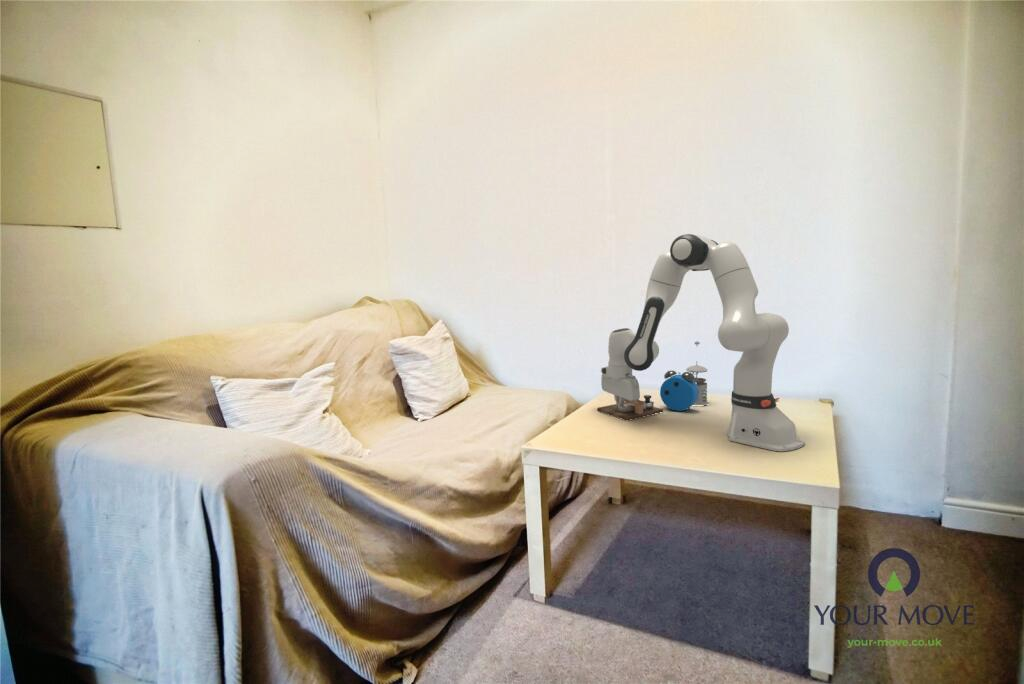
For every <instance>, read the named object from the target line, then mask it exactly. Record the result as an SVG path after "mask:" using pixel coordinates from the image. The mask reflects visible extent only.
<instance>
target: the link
mask: <svg viewBox="0 0 1024 684" xmlns="http://www.w3.org/2000/svg"><path fill="white" fill-rule="evenodd" d="M643 398H644V400H643V401H644V405H643V409H652V408H654V407H655V406H654V401H651V399H652V395H650V394H649V395H648V394H645V395H643ZM618 411H621V412H628V411H635V405H633V404H623V405H618Z"/></svg>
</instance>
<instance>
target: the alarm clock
mask: <svg viewBox="0 0 1024 684" xmlns="http://www.w3.org/2000/svg"><path fill="white" fill-rule="evenodd" d="M663 377H664V381H663V383H662V385H661V386H660V391H659V394H660V399H661V400H662V402H663V404H664V405H665V406H666V407H667V408H668V409H670V410H671V411H672V410H673V411H675V410H676V411H675V412H681V411H682V412H683V411H686V410H687V409H690V410H691V407H693V406H692V405H693V404H695V402H696V401H697V399H698V396H699V390H698V387H697V384H696V382H694V380H695V377H696V376H695V375H694V374H693V372H689V371H685V372H683V373H681V372H677V371H675V370H667V372H665V374H664V376H663Z"/></svg>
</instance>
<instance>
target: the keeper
mask: <svg viewBox="0 0 1024 684" xmlns="http://www.w3.org/2000/svg"><path fill="white" fill-rule="evenodd" d="M644 401H645V400H642V399H641V400H640V399H639V400H638V401H629V400H625V402H626V403H630V404H633V405H635V413H637V414H642V413H643V405H644Z"/></svg>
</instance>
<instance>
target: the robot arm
mask: <svg viewBox="0 0 1024 684" xmlns="http://www.w3.org/2000/svg"><path fill="white" fill-rule="evenodd" d="M689 271H691V272H702V271H710V273H711V275H712V277H713V280H714V283H715V287H716V289H717V292H718V295H719V297H720V301H721V304H722V321H721V324H720V325H719V327H718V330H717V337H718V342H719V343H720V345H721V346H722V348H724V349H725V350H728V351H734V352H740V353H742V354H741V356H740V359H739V360H738V361H737V363H736V364H735V366H734V367H733V380H732V381H733V384H732V391H731V399H730V400H731V401H730V402H731V406H732V407H731V414H730V415H731V416H730V420H729V424H728V429H727V431H726V434H727V436H728V437H729V441H731V442H735V443H738V444H741V445H742V444H743V445H748V446H750V447H751V446H753V447H757V448H761V449H765V450H769V451H774V452H788V451H794V450H798V449H799V448H802V447H804V445H805V444H806V443H805V439H803V438H801V437H798V435H797V429H796V425H795V423H794V421H793V420H791V419H790V418H789V417H788V415H786V414H785V413H784V412H782V410H780V409H779V408H778V406H777V403H778V402H779V400H780V397H776V398H775V396H774V394H773V393H772V384H773V370H774V366H775V363H776V358H777V356H778V353H779V350H780V348H781V346H782V344H783V343H784V341H786V339H787V338H788V335H789V331H790V328H789V324H788V321H787V320H786V319H785V318H784V317H783V316H781V315H778V314H775V313H770V312H762V313H757V311H756V305H755V301H756V298H757V296H758V295H759V289H758V286H757V283H756V281H755V278H754V276H753V273H752V270H751V268H750V266H749V263H748V261H747V259H746V257H745V255H744V253H743V252H742V250H741V248H740V247H739V246H738V245H737V244H736V243H734V242H731V241H730V242H729V241H726V242H725V241H724V242H722V243H718V242H717V241H716V240H713V239H709V238H707V237H705V236H701V235H696V234H692V233H685V234H681V235H679V236H677V237H676V238H675V239H674V240H673V241H672V243H671V244H670V248H669V250H666V251H664V252H661V254H660V255H659V256H658V258H657V260H656V262H655V264H654V266H653V268H652V271H651V273H650V276H649V280H648V284H647V289H646V293H645V301H644V306H643V311H642V315H641V318H640V320H639V325H638V328H637V330H636V332H635V331H633V330H632V329H631V328H628V327H627V328H626V327H625V328H618V329H615V330H612V332H610V333H609V337H608V348H607V349H608V350H607V351H608V352H607V353H608V357H609V358H608V359H609V360H608V362H607V363H608V365H607V366H603V367H601V368H600V373H601V377H600V378H601V380H600V381H601V389H602V391H603V392H606V393H609V394H611V395H613V397H614V401H615V404H616V406H617V407H618V405H623V404H624V402H625V400H629V401H638V400H640V398H641V392H640V384H639V383H640V382H639V381H638V379H637V378H636V376H635V375H633V371H638V372H640V371H642V372H643V371H646V370H647V369H649V368H650V367H651V365H652V364H653V363H654V361H655V360H656V359H657V358H658V356H659V353H660V348H659V345H658V343H657V342H656V341H655V337H656V334H657V331H658V330H659V329H658V328H659V327H660V326H659V325H660V322H661V320H662V318H663V317H664V316H665V314H666V313H667V312H668V311H669V309H670V308H671V307H672V306H673V305H674V303H675V301H676V299H677V298H678V295H679V293H680V290H681V287H682V284H683V281H684V278H685V275H686V274H687V273H688V272H689Z"/></svg>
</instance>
